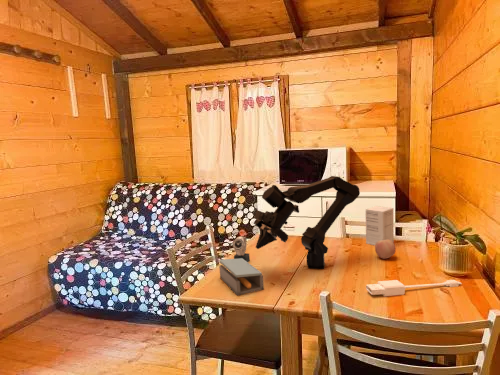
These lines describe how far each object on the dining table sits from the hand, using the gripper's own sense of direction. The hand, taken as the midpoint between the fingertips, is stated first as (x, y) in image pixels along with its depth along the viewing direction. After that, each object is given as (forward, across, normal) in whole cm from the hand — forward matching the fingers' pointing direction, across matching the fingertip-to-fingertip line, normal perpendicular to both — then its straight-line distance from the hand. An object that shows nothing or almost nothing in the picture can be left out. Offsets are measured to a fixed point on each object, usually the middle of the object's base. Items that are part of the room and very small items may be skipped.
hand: (256, 248), depth 133 cm
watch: (+8, -21, +10) cm, 25 cm away
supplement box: (-38, -9, +57) cm, 69 cm away
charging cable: (-19, +35, +38) cm, 55 cm away
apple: (-30, +7, +48) cm, 57 cm away
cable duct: (+14, 0, +3) cm, 14 cm away
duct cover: (+10, 0, -1) cm, 10 cm away
